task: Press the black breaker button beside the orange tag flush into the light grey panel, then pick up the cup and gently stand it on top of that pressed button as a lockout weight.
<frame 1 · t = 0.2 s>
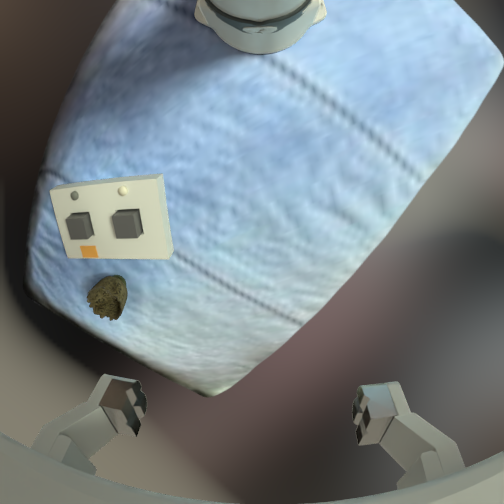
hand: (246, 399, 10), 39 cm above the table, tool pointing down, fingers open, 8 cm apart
breaker b: (128, 223, 46), point 3 cm above the table, slide at 0.0 cm
breaker a: (80, 225, 47), point 3 cm above the table, slide at 0.0 cm
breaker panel: (111, 216, 49), on the table
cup: (119, 280, 56), on the table
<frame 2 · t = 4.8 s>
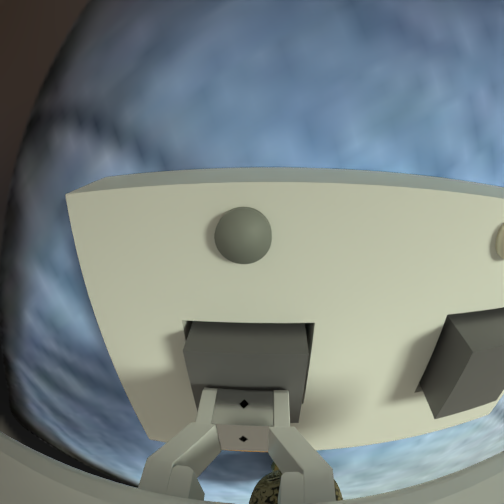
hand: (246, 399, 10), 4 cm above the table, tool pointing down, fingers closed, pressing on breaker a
breaker b: (472, 356, 10), point 3 cm above the table, slide at 0.0 cm
breaker a: (249, 362, 11), point 3 cm above the table, slide at 0.8 cm, touching gripper
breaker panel: (358, 321, 13), on the table
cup: (294, 455, 19), on the table
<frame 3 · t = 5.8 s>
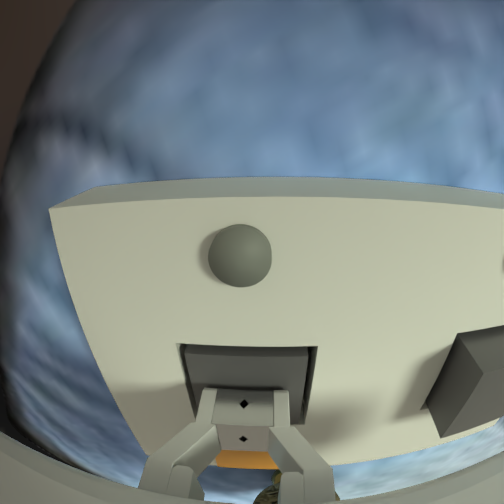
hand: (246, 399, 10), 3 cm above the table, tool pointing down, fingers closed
breaker b: (480, 373, 9), point 3 cm above the table, slide at 0.0 cm
breaker a: (250, 365, 11), point 2 cm above the table, slide at 1.8 cm
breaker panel: (362, 337, 13), on the table
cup: (295, 467, 18), on the table
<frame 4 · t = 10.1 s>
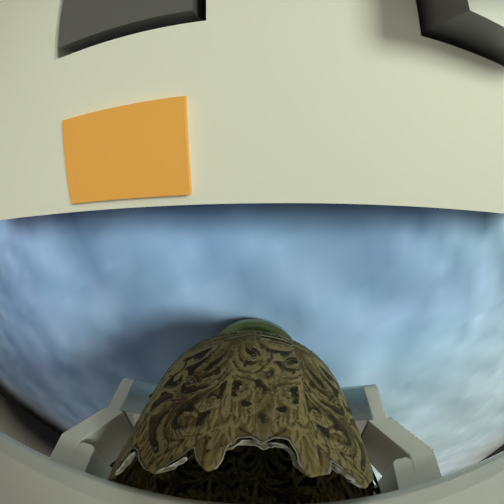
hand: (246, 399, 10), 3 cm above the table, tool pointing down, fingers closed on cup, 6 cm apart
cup: (254, 342, 13), on the table, touching gripper
when the fingers open (7 cm above the table, at t = 17.8 s): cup moves 1 cm, resting on breaker a.
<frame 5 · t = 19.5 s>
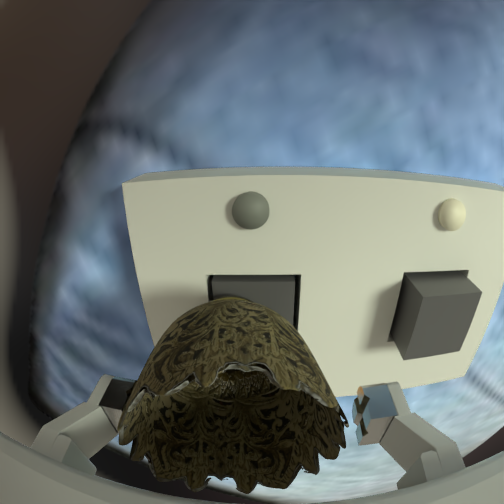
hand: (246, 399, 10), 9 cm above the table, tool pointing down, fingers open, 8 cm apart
breaker b: (432, 310, 14), point 3 cm above the table, slide at 0.0 cm
breaker a: (255, 299, 17), point 2 cm above the table, slide at 1.8 cm, touching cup
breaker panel: (338, 284, 18), on the table
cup: (231, 317, 15), point 3 cm above the table, touching breaker a
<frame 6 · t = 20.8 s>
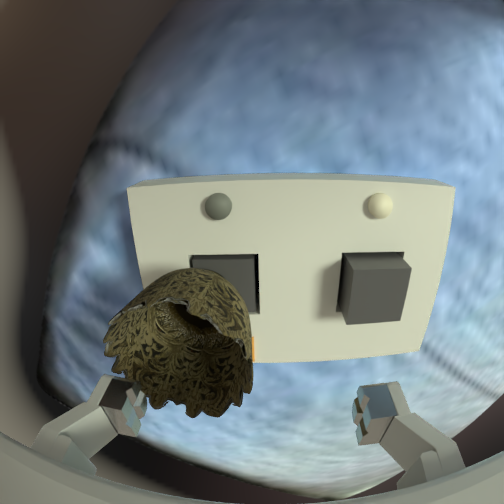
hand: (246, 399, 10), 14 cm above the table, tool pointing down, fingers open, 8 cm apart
breaker b: (372, 285, 19), point 3 cm above the table, slide at 0.0 cm
breaker a: (227, 276, 21), point 2 cm above the table, slide at 1.8 cm, touching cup
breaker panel: (295, 266, 23), on the table
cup: (208, 287, 20), point 3 cm above the table, touching breaker a
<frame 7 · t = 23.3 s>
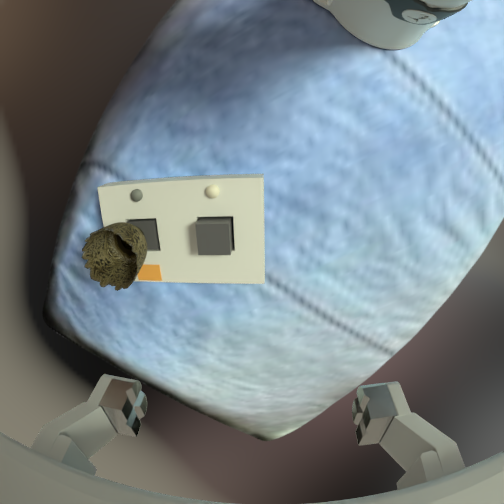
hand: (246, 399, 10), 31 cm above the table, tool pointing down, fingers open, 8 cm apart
breaker b: (215, 235, 37), point 3 cm above the table, slide at 0.0 cm
breaker a: (146, 231, 40), point 2 cm above the table, slide at 1.8 cm, touching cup
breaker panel: (183, 227, 41), on the table
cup: (135, 236, 38), point 3 cm above the table, touching breaker a
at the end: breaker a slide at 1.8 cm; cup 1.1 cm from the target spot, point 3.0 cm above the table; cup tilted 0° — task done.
